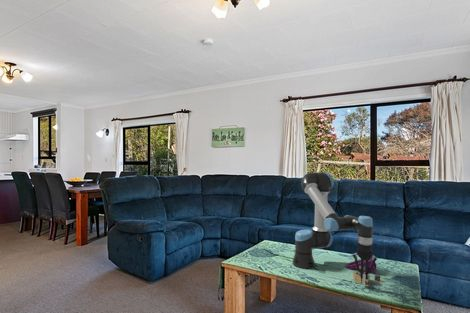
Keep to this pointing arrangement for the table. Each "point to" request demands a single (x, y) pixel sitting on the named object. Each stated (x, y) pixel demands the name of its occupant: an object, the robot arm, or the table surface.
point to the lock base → (376, 277)
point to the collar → (358, 279)
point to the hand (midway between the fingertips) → (363, 284)
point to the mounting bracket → (353, 265)
